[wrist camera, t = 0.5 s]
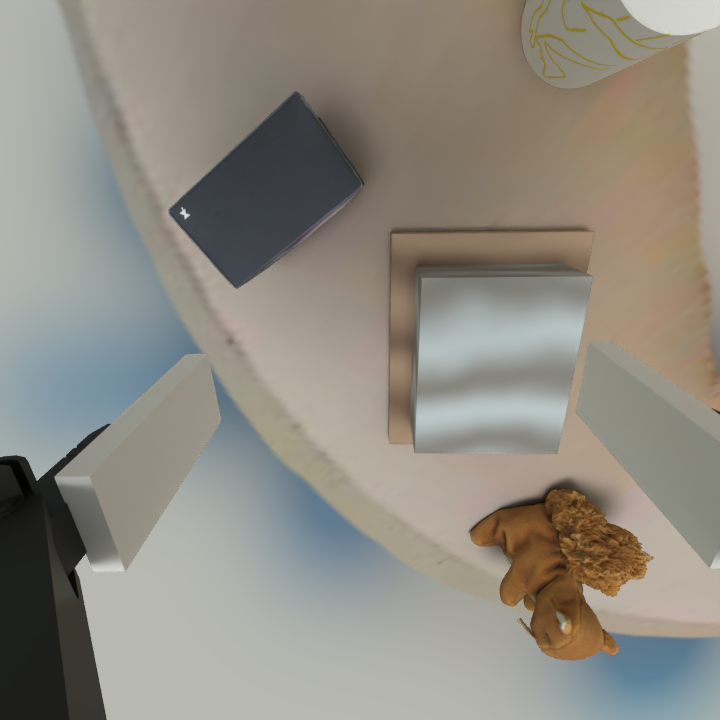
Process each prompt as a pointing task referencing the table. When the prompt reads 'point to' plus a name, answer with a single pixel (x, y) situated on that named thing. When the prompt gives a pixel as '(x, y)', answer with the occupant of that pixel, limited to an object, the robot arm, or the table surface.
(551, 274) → the building base
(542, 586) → the stuffed squirrel
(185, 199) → the small box
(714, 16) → the cup
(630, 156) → the table surface
